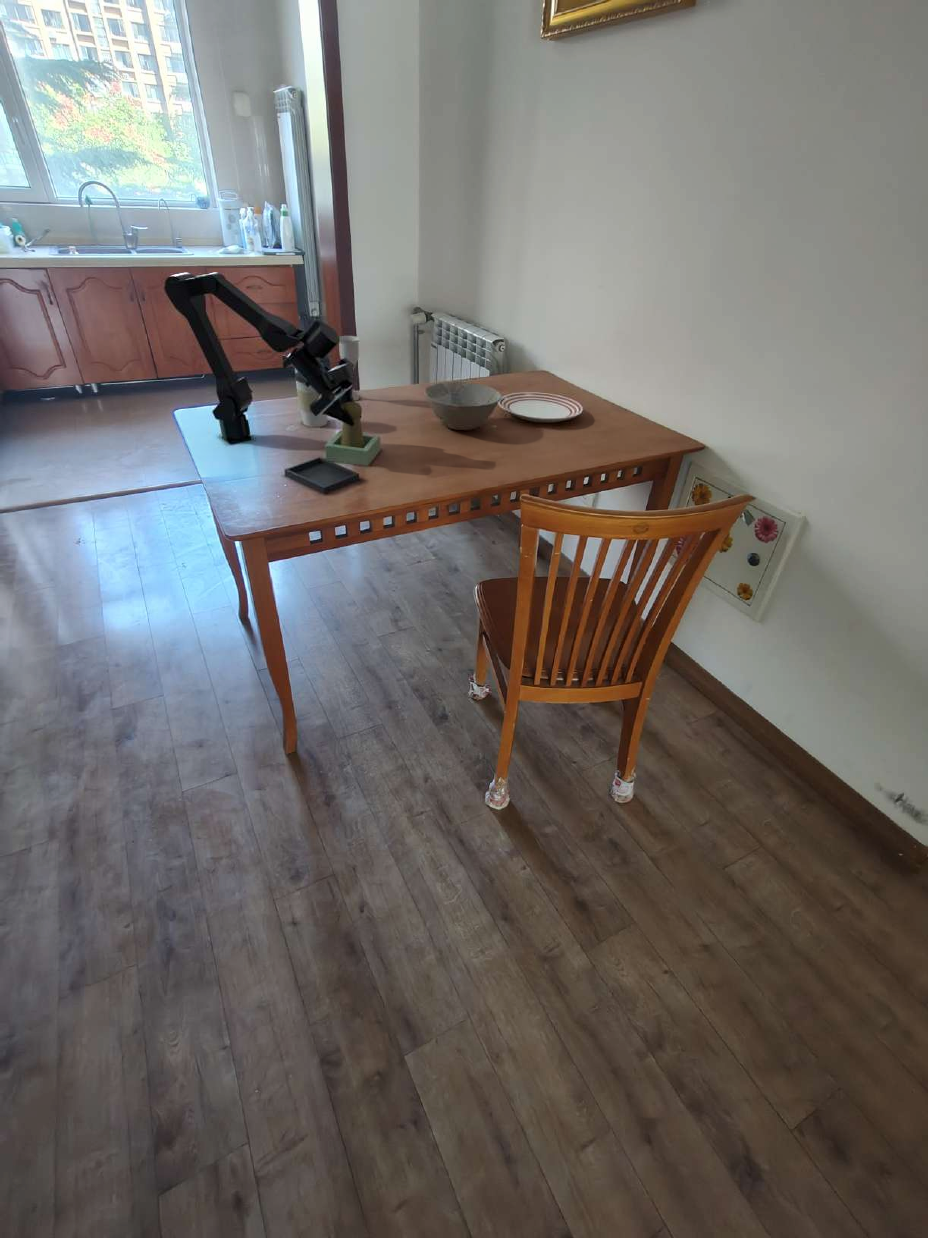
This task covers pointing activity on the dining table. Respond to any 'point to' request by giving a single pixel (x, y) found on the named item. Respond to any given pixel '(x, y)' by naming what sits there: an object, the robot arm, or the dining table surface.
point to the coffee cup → (308, 403)
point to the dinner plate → (540, 407)
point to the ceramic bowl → (462, 403)
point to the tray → (322, 475)
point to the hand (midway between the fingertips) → (357, 421)
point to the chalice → (350, 353)
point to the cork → (353, 427)
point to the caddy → (353, 450)
